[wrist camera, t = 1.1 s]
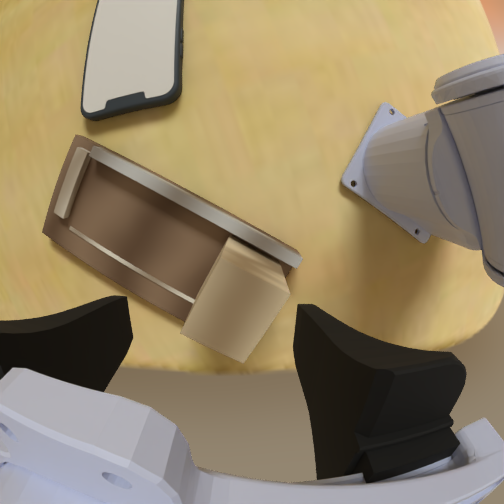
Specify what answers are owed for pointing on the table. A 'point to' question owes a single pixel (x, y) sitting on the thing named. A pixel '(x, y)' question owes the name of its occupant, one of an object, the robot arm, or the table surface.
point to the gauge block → (237, 301)
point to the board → (145, 227)
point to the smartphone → (132, 57)
